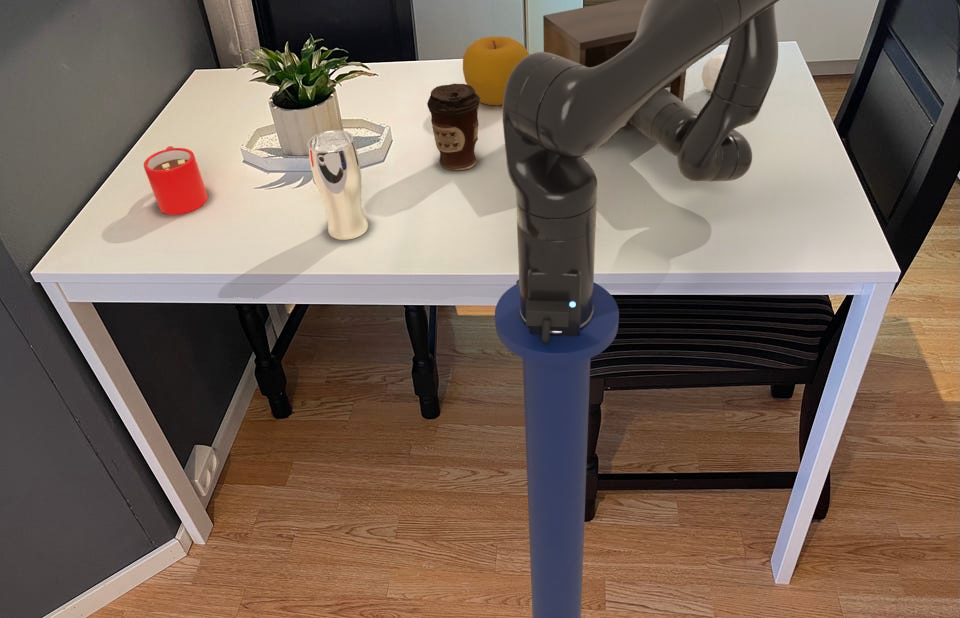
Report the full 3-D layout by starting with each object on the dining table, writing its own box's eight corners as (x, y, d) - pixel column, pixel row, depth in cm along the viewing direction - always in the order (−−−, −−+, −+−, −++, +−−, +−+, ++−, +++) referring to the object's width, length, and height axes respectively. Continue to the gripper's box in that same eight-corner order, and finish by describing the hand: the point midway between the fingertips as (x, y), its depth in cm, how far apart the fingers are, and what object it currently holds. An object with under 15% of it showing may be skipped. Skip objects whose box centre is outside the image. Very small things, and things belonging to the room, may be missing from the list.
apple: (479, 82, 160) (475, 25, 152) (539, 88, 156) (539, 31, 148) (454, 109, 151) (449, 51, 143) (518, 117, 147) (516, 57, 139)
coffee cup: (464, 180, 130) (457, 106, 122) (423, 168, 134) (414, 96, 126) (492, 156, 136) (488, 85, 127) (452, 146, 139) (446, 76, 131)
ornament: (691, 86, 152) (711, 46, 150) (727, 102, 151) (747, 62, 150) (696, 82, 145) (717, 40, 143) (733, 99, 145) (754, 57, 143)
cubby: (680, 128, 139) (692, 19, 127) (577, 153, 135) (580, 42, 122) (640, 97, 150) (648, -6, 137) (544, 120, 145) (543, 15, 133)
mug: (202, 174, 137) (189, 132, 132) (210, 207, 128) (196, 164, 123) (156, 184, 135) (140, 143, 130) (160, 219, 127) (144, 176, 122)
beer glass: (358, 245, 117) (340, 155, 108) (317, 238, 120) (296, 149, 110) (378, 220, 122) (363, 132, 113) (339, 213, 124) (320, 126, 115)
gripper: (697, 81, 125) (644, 46, 138) (616, 99, 122) (569, 62, 135) (692, 124, 130) (641, 87, 143) (614, 143, 127) (569, 104, 139)
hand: (607, 75), depth 139 cm, fingers closed on pill bottle, 5 cm apart
